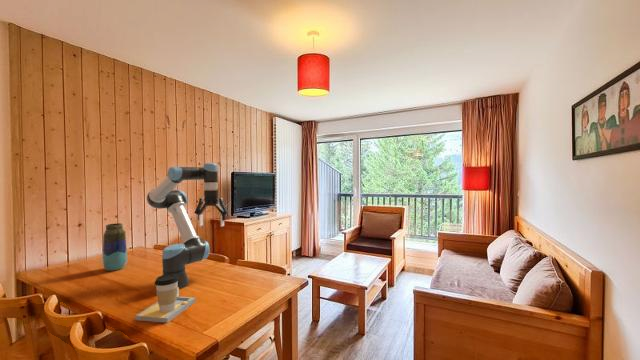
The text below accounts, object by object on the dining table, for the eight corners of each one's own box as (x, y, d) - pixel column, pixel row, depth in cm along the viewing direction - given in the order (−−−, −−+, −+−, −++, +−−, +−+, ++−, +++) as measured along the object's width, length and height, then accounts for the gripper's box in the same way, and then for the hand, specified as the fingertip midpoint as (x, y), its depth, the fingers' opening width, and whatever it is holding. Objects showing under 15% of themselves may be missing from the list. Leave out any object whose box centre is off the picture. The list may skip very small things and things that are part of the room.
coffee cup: (183, 303, 131) (182, 273, 130) (173, 314, 121) (173, 280, 121) (161, 305, 130) (161, 273, 130) (150, 315, 120) (149, 281, 120)
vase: (131, 267, 192) (130, 223, 191) (107, 273, 180) (106, 226, 180) (122, 264, 199) (121, 222, 199) (99, 270, 187) (98, 225, 187)
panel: (134, 320, 120) (134, 315, 120) (167, 299, 141) (167, 294, 141) (166, 323, 118) (166, 317, 118) (195, 301, 138) (195, 296, 138)
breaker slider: (166, 299, 136) (166, 289, 136) (171, 295, 140) (171, 286, 140) (173, 299, 135) (173, 290, 135) (178, 296, 139) (178, 287, 139)
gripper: (187, 190, 157) (188, 226, 157) (227, 190, 153) (228, 227, 153) (195, 189, 164) (196, 224, 164) (234, 189, 160) (234, 225, 160)
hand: (211, 226), depth 159 cm, fingers open, 13 cm apart
